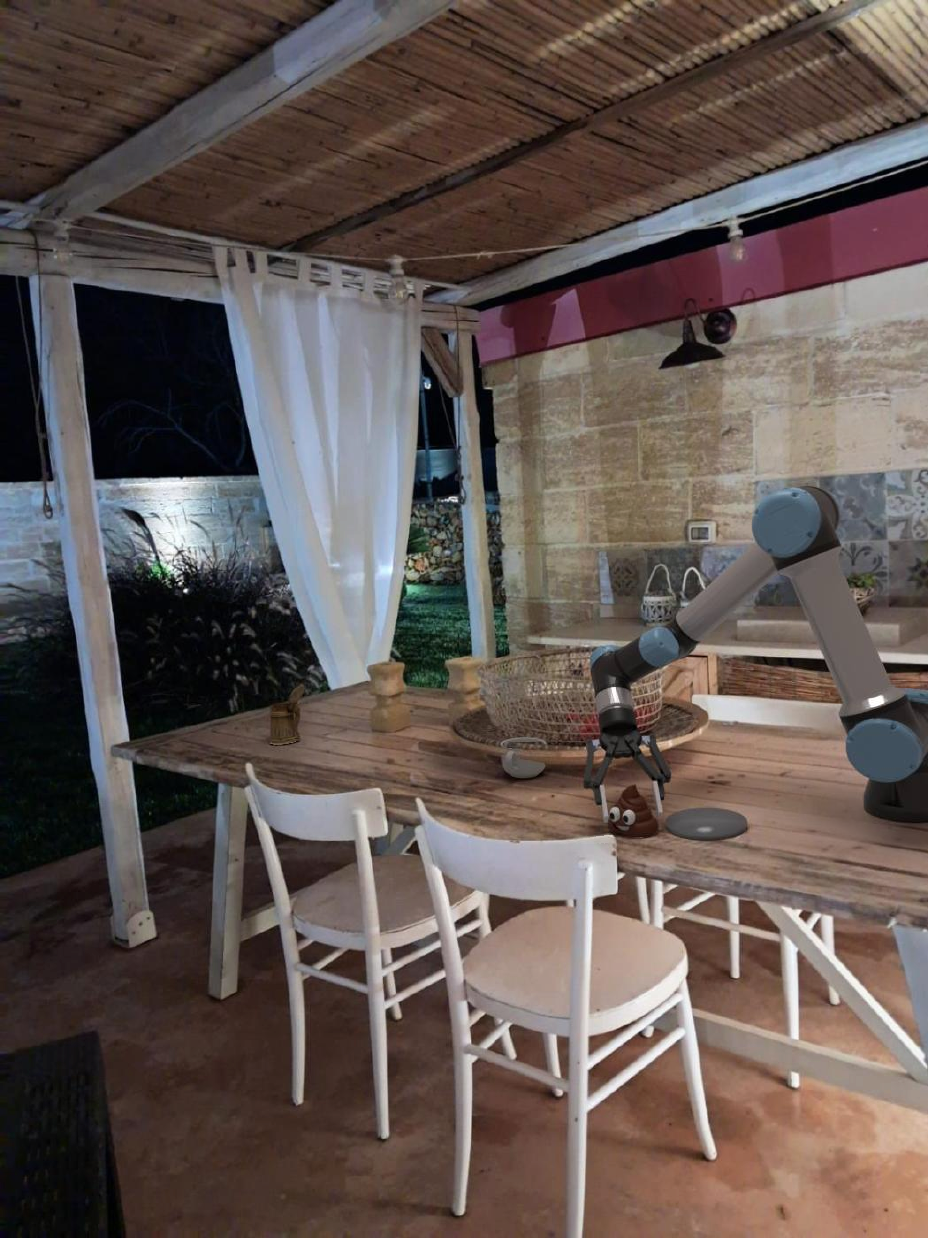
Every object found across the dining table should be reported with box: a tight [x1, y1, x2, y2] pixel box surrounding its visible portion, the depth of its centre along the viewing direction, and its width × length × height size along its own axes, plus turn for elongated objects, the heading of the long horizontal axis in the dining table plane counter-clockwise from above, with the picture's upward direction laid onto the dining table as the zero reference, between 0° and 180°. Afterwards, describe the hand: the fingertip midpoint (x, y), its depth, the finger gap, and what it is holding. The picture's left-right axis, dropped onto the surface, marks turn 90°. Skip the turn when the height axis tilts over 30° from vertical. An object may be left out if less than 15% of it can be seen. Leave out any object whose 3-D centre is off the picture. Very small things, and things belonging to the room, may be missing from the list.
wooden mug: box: [268, 682, 306, 743], centre depth 272 cm, size 9×14×18 cm, turn 61°
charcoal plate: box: [665, 807, 748, 842], centre depth 176 cm, size 15×15×1 cm
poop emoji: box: [607, 783, 659, 838], centre depth 176 cm, size 10×8×9 cm
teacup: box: [499, 736, 547, 779], centre depth 218 cm, size 14×11×8 cm
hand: (633, 817), depth 173 cm, fingers open, 9 cm apart
